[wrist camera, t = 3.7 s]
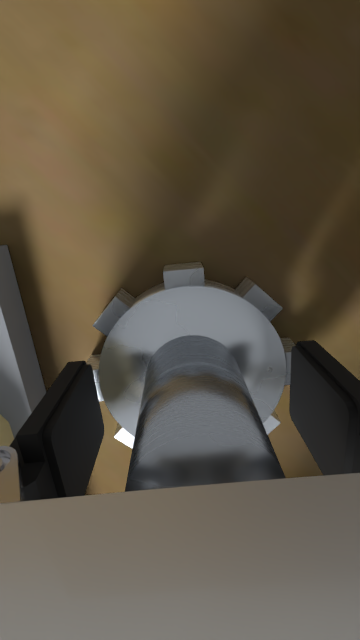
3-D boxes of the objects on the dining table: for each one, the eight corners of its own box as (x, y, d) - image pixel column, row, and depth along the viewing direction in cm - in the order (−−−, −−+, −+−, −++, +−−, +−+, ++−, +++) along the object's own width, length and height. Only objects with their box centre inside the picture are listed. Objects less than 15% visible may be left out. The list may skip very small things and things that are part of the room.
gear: (290, 253, 12) (433, 301, 5) (285, 431, 15) (376, 610, 8) (75, 273, 12) (-45, 344, 5) (110, 446, 15) (58, 634, 8)
